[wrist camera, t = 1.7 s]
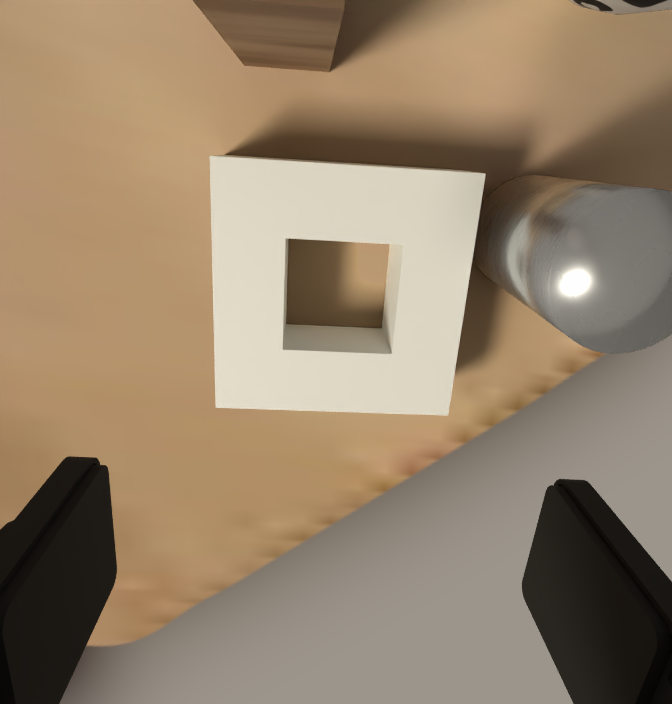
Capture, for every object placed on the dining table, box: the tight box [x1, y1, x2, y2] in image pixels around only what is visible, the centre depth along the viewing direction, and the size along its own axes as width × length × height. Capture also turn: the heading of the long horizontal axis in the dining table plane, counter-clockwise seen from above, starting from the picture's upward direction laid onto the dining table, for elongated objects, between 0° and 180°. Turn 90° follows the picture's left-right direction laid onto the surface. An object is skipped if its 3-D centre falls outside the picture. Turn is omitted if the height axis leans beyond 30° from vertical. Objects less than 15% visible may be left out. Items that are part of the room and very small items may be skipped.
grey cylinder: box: [473, 175, 672, 354], centre depth 23 cm, size 6×6×10 cm
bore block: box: [210, 155, 486, 415], centre depth 27 cm, size 12×12×4 cm
